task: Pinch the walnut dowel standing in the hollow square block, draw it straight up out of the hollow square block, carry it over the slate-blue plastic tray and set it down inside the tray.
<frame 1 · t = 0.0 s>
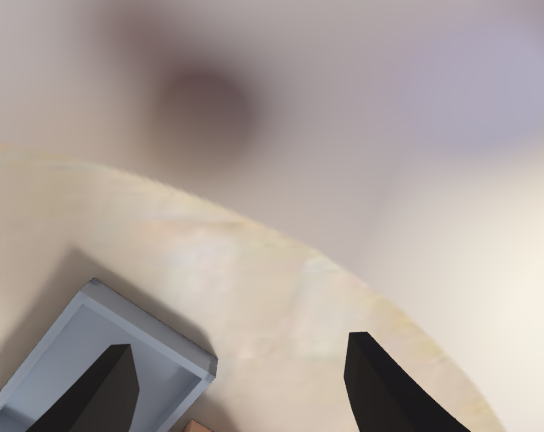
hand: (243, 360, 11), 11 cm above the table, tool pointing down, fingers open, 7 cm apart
tray: (107, 382, 22), on the table
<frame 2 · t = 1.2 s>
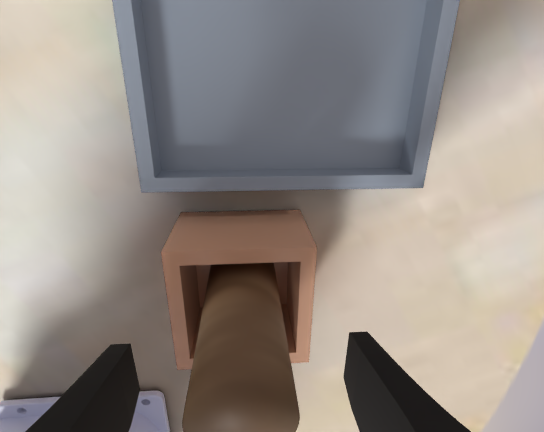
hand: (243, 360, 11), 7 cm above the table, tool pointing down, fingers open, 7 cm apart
hollow square block: (242, 262, 17), on the table
tray: (285, 62, 13), on the table
dowel: (242, 268, 16), point 1 cm above the table, touching hollow square block
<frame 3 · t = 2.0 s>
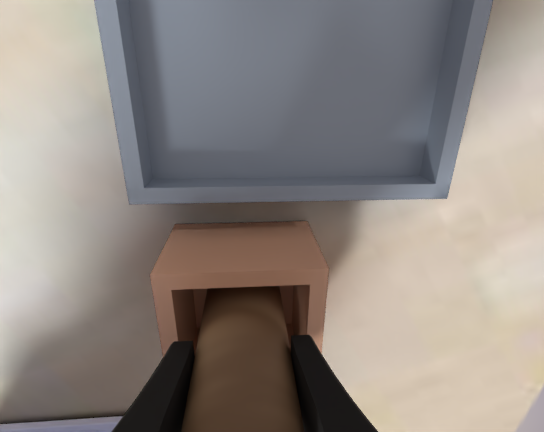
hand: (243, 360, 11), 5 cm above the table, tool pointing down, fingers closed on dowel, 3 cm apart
hollow square block: (243, 278, 15), on the table
tray: (292, 56, 12), on the table
dowel: (243, 285, 15), point 1 cm above the table, touching hollow square block, gripper
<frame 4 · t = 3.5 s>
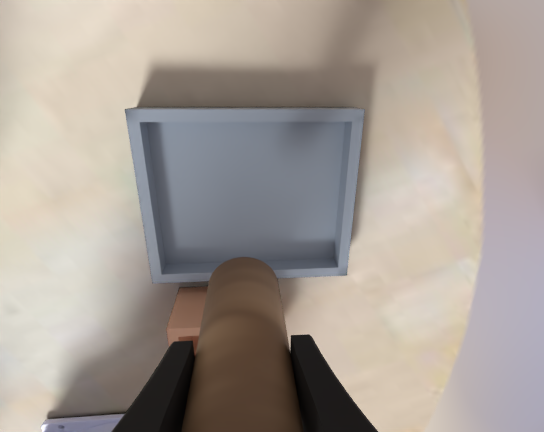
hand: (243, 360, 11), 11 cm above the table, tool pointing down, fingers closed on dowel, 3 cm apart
hollow square block: (224, 319, 23), on the table
tray: (249, 193, 19), on the table
dowel: (243, 287, 15), point 6 cm above the table, touching gripper
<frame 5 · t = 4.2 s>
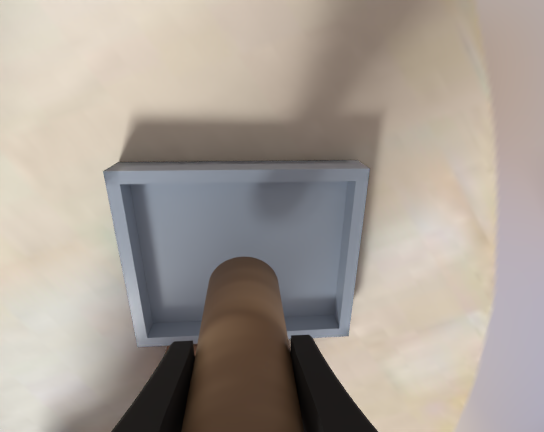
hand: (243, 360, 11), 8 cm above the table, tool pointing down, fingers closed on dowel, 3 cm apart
tray: (243, 248, 18), on the table
dowel: (243, 287, 15), point 4 cm above the table, touching gripper
when the fingers open (6 cm above the table, at t = 4.9 s): dowel stays where it is, resting on tray.
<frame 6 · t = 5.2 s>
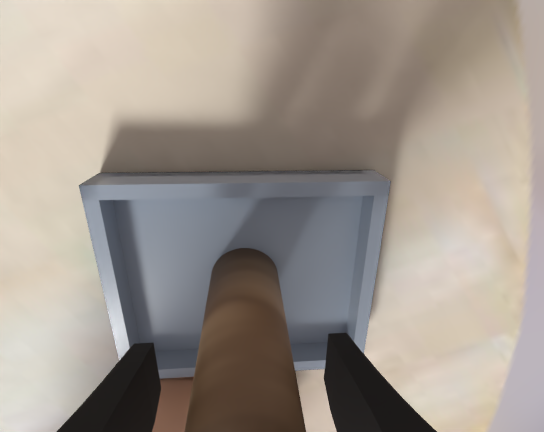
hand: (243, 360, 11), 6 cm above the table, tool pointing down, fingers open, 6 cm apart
hollow square block: (214, 405, 19), on the table
tray: (243, 269, 16), on the table
dowel: (244, 277, 15), point 1 cm above the table, touching tray
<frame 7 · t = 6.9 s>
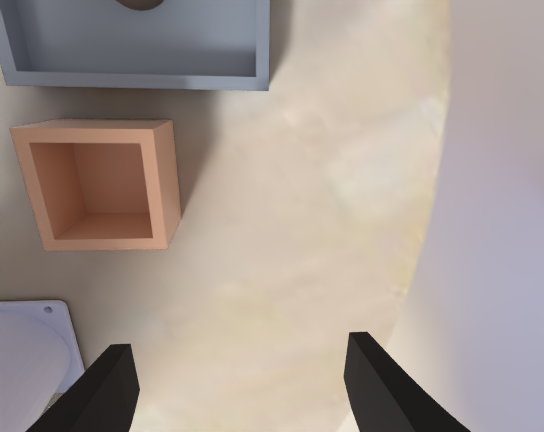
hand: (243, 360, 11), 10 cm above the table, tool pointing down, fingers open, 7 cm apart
hollow square block: (125, 171, 18), on the table
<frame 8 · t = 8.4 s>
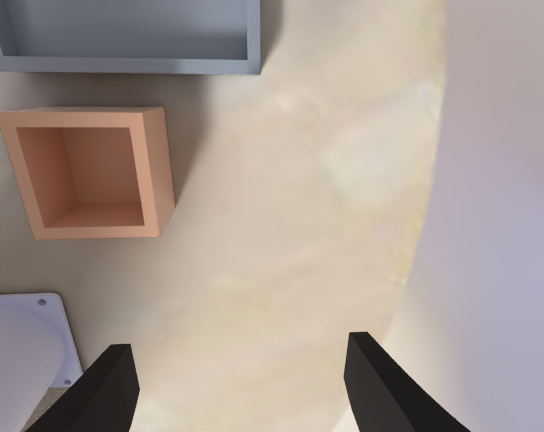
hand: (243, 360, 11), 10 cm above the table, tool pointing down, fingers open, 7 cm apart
hollow square block: (117, 160, 18), on the table
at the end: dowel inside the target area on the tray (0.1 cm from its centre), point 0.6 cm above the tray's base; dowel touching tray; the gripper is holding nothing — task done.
